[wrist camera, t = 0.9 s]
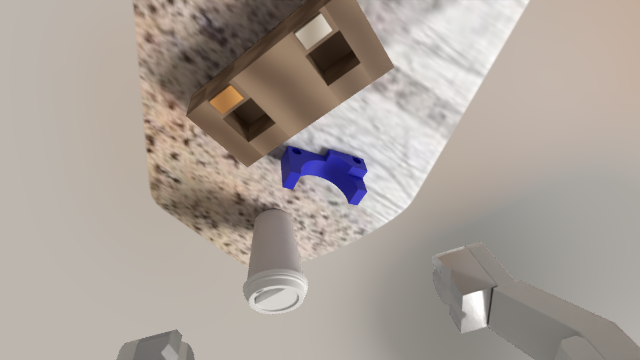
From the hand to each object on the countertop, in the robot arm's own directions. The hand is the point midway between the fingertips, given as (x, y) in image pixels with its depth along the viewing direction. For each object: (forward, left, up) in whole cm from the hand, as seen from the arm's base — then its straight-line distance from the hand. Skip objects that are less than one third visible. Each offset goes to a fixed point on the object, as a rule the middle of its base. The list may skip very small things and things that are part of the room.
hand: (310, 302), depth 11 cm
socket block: (+4, +7, -35) cm, 36 cm away
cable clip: (+8, +22, -35) cm, 42 cm away
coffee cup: (+23, +27, -35) cm, 50 cm away
